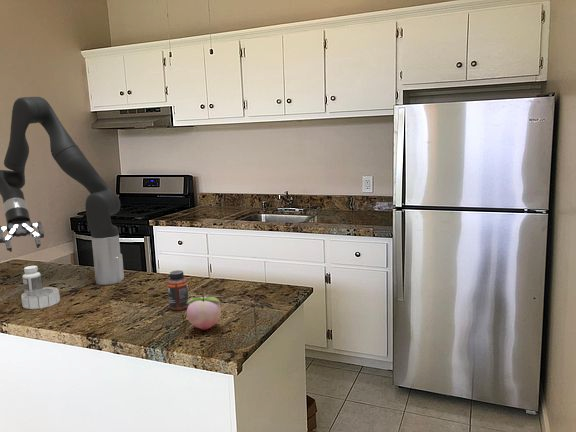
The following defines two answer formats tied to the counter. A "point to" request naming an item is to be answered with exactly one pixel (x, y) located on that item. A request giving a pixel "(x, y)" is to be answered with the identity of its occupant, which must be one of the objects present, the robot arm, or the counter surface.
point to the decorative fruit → (203, 312)
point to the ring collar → (40, 298)
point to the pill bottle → (31, 278)
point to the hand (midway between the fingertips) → (24, 248)
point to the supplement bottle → (177, 291)
